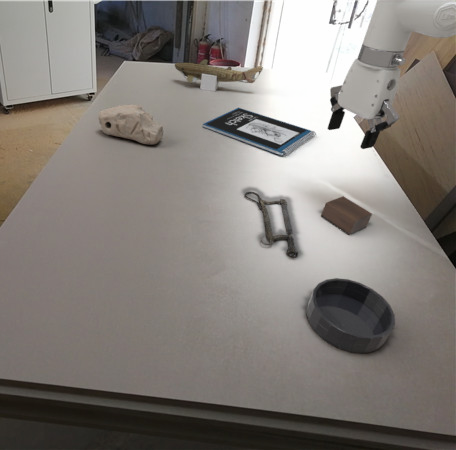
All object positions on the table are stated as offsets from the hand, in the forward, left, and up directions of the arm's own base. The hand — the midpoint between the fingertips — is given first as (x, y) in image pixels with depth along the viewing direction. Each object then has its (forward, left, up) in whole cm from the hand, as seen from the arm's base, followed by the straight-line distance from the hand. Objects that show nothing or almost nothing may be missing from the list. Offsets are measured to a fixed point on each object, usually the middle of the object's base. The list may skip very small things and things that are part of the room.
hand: (349, 137), depth 89 cm
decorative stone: (+26, -54, -18) cm, 62 cm away
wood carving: (-26, -80, -18) cm, 86 cm away
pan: (+26, +27, -18) cm, 42 cm away
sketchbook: (-14, -40, -18) cm, 46 cm away
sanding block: (+2, +7, -18) cm, 19 cm away
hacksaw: (+18, -1, -18) cm, 25 cm away
